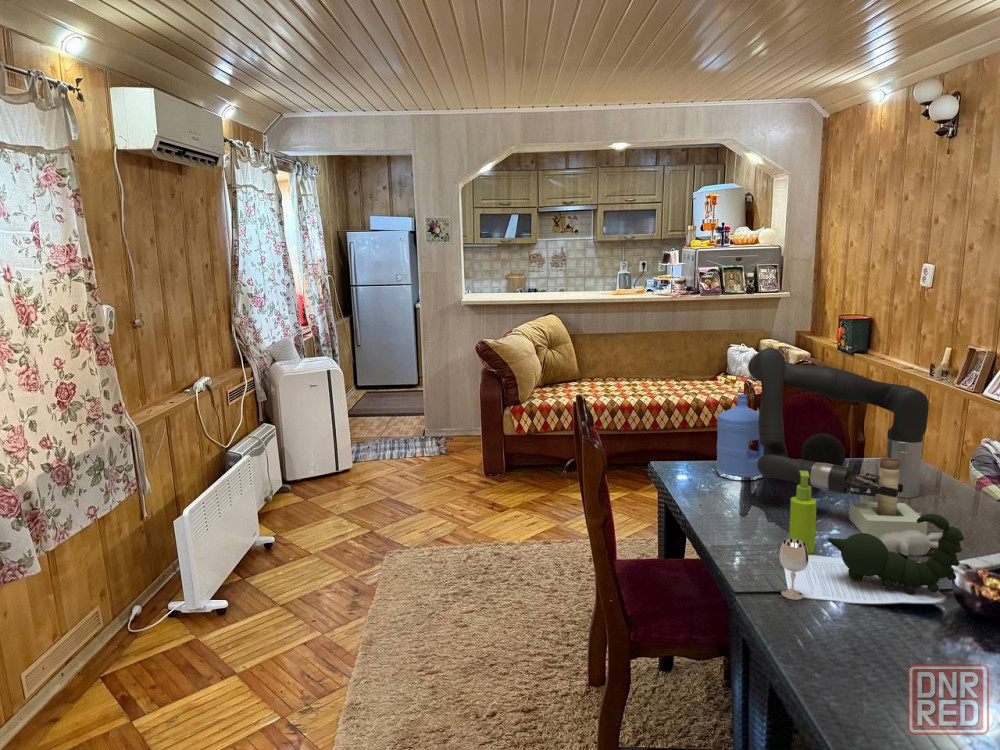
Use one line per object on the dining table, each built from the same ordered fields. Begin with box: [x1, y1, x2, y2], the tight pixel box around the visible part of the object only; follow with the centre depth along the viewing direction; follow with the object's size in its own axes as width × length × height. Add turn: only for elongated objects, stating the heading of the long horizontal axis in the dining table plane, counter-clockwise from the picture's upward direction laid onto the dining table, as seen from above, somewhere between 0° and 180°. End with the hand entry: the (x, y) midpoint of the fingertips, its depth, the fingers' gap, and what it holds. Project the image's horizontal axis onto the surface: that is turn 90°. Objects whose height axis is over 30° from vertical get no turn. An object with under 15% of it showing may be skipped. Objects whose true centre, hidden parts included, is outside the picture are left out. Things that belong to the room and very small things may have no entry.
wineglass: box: [778, 538, 809, 601], centre depth 143 cm, size 6×6×12 cm
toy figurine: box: [826, 513, 965, 595], centre depth 145 cm, size 9×19×25 cm
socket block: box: [848, 501, 929, 538], centre depth 176 cm, size 14×14×5 cm
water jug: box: [715, 393, 765, 477], centre depth 223 cm, size 16×16×28 cm
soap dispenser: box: [788, 470, 818, 555], centre depth 165 cm, size 6×7×20 cm
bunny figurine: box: [878, 530, 942, 557], centre depth 162 cm, size 10×5×15 cm
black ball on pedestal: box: [801, 433, 846, 466], centre depth 219 cm, size 13×13×15 cm
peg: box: [877, 456, 900, 516], centre depth 175 cm, size 4×4×18 cm
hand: (899, 490), depth 173 cm, fingers closed on peg, 4 cm apart
